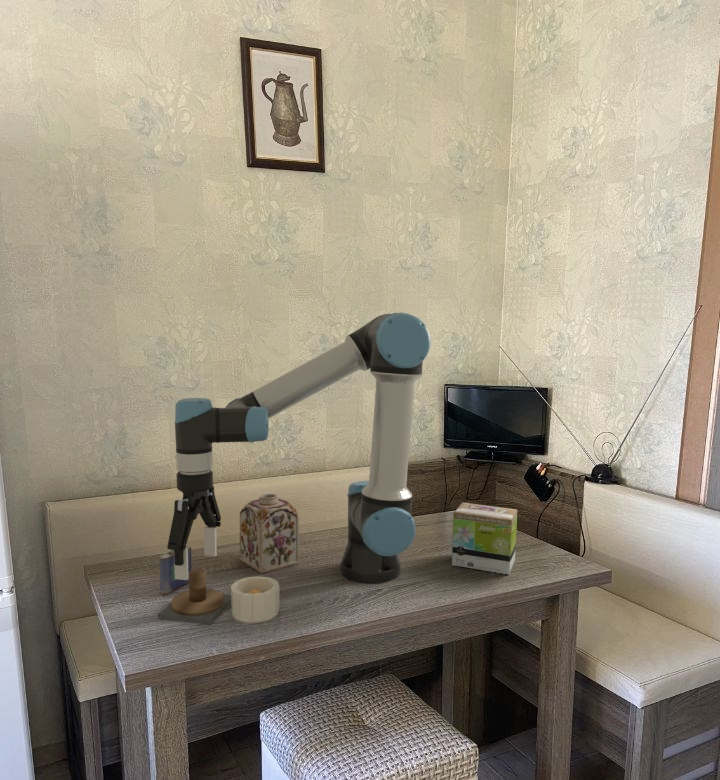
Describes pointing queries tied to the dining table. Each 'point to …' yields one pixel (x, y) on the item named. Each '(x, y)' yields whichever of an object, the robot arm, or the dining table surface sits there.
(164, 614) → the mat
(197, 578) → the lid
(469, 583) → the dining table surface
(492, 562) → the tea box
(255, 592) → the apricot
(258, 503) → the decorative jar
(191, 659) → the dining table surface
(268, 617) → the bowl
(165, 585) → the flask
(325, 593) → the dining table surface
